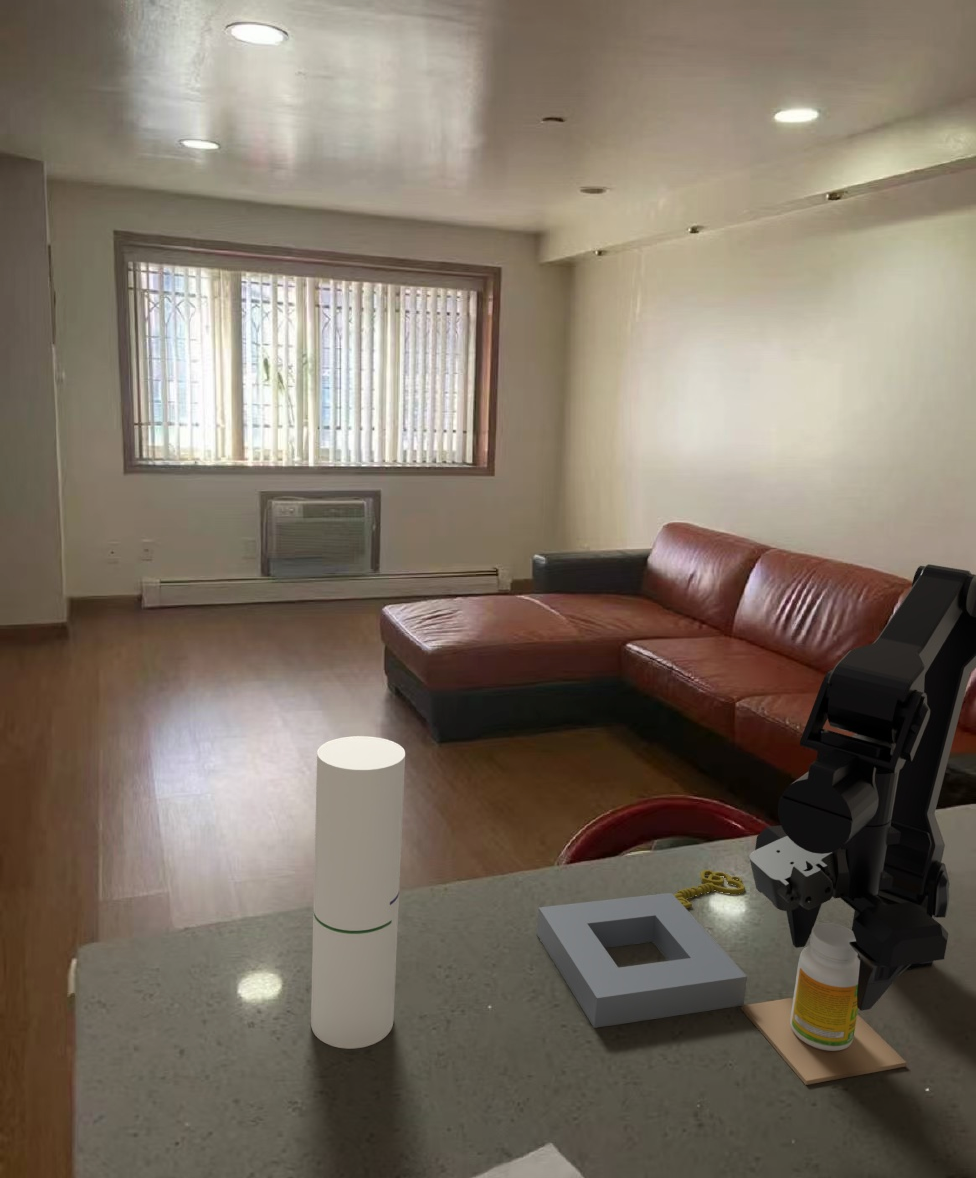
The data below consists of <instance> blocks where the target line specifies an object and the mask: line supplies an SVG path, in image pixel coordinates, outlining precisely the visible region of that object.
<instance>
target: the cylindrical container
mask: <svg viewBox="0 0 976 1178" xmlns="http://www.w3.org/2000/svg"><path fill="white" fill-rule="evenodd" d="M316 752H317V753H316V791H315V830H314V831H315V832H314V833H315V834H314V868H313V869H314V873H313V874H314V875H313V876H314V878H313V914H312V915H313V916H312V920H313V921H312V957H311V958H312V960H311V964H312V965H311V968H312V969H311V1007H310V1010H311V1011H310V1027H311V1030H312V1032H313V1034H314V1035H315V1037H317V1039H318V1040H320V1041H321V1042H323V1043H325V1044H326V1045H328V1046H331V1047H335V1048H339V1049H349V1050H350V1049H353V1050H354V1049H360V1048H361V1049H362V1048H366V1047H370V1046H371V1045H375V1044H376V1043H378V1042H380V1041H382V1040H383V1039H384V1038H386V1037H387V1036H388V1035H389V1033H390V1032H391V1031H392V1029H393V1026H394V1025H393V1024H394V1022H395V1021H394V1017H395V1015H394V1014H395V997H396V993H395V992H396V973H397V972H396V971H397V969H396V968H397V951H398V950H397V949H398V948H397V947H398V929H399V926H398V924H399V904H400V884H401V883H400V881H401V860H402V857H401V856H402V839H403V836H402V834H403V833H402V831H403V816H404V815H403V813H404V811H403V810H404V792H405V791H404V790H405V772H406V771H405V770H406V769H405V768H406V750H405V749H404V747H403V746H401V744H399V743H397V742H395V741H392V740H390V739H387V738H383V737H377V736H367V735H366V736H365V735H355V736H352V735H351V736H346V737H345V736H344V737H338V738H335V739H331V740H329V741H326V742H324V743H322V744H321V745H320V746H319V747H318V749H317V750H316Z"/></svg>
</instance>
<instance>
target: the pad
mask: <svg viewBox="0 0 976 1178" xmlns="http://www.w3.org/2000/svg"><path fill="white" fill-rule="evenodd" d="M792 1003H793V997H788V998H783V999H776V1000H769V1001H768V1000H767V1001H763V1002H757V1003H756V1002H755V1003H748V1004H743V1005H741V1011H742V1012H743V1013H744V1014H745V1016H746V1017H747V1018H748V1019H749V1020H750V1021H751V1022H752V1024H753V1025H754V1026H755V1027H756V1029H758V1031H759V1032H760V1033H761V1034H762V1035H763V1036H764V1037H765V1039H766V1040H767V1042H769V1043H770V1045H771V1046H772V1047H773V1049H775V1051H776V1052H777V1053H778V1054H779V1055H780V1056H781V1058H782V1059H783V1060H784V1062H785V1063H786V1064H787V1065H788V1066H789V1067H790V1069H791V1070H792V1071H793V1072H794V1073H795V1074H796V1076H797V1077H798V1078H799V1079H800V1081H802V1082H803V1083H804V1085H805V1086H806V1085H813V1084H818V1083H822V1082H828V1081H834V1080H840V1079H845V1078H850V1077H856V1076H861V1075H868V1074H872V1073H877V1072H883V1071H887V1070H888V1071H889V1070H893V1069H899V1068H904V1067H906V1066H907V1061H906V1060H905V1059H904V1058H903V1057H902V1056H901V1055H900V1054H899V1053H898V1052H897V1051H896V1050H895V1049H894V1048H893V1047H891V1045H890V1044H888V1043H887V1041H886V1040H885V1039H883V1038H882V1037H881V1035H880V1034H879V1033H878V1032H876V1031H875V1030H874V1028H873V1027H872V1026H870V1025H869V1024H868V1023H867V1022H866V1021H865V1020H864V1019H863V1018H862V1017H861V1016H860V1015H859V1014H858V1013H857V1019H856V1025H855V1032H854V1037H853V1041H852V1043H851V1045H850V1046H849V1047H847V1048H846V1049H843V1050H839V1051H827V1050H821V1049H818V1048H815V1047H812V1046H810V1045H808V1044H806V1043H805V1042H803V1041H802V1040H801V1039H800V1038H798V1037H797V1036H796V1034H795V1033H794V1032H793V1030H792V1028H791V1024H790V1019H791V1010H792Z"/></svg>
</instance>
